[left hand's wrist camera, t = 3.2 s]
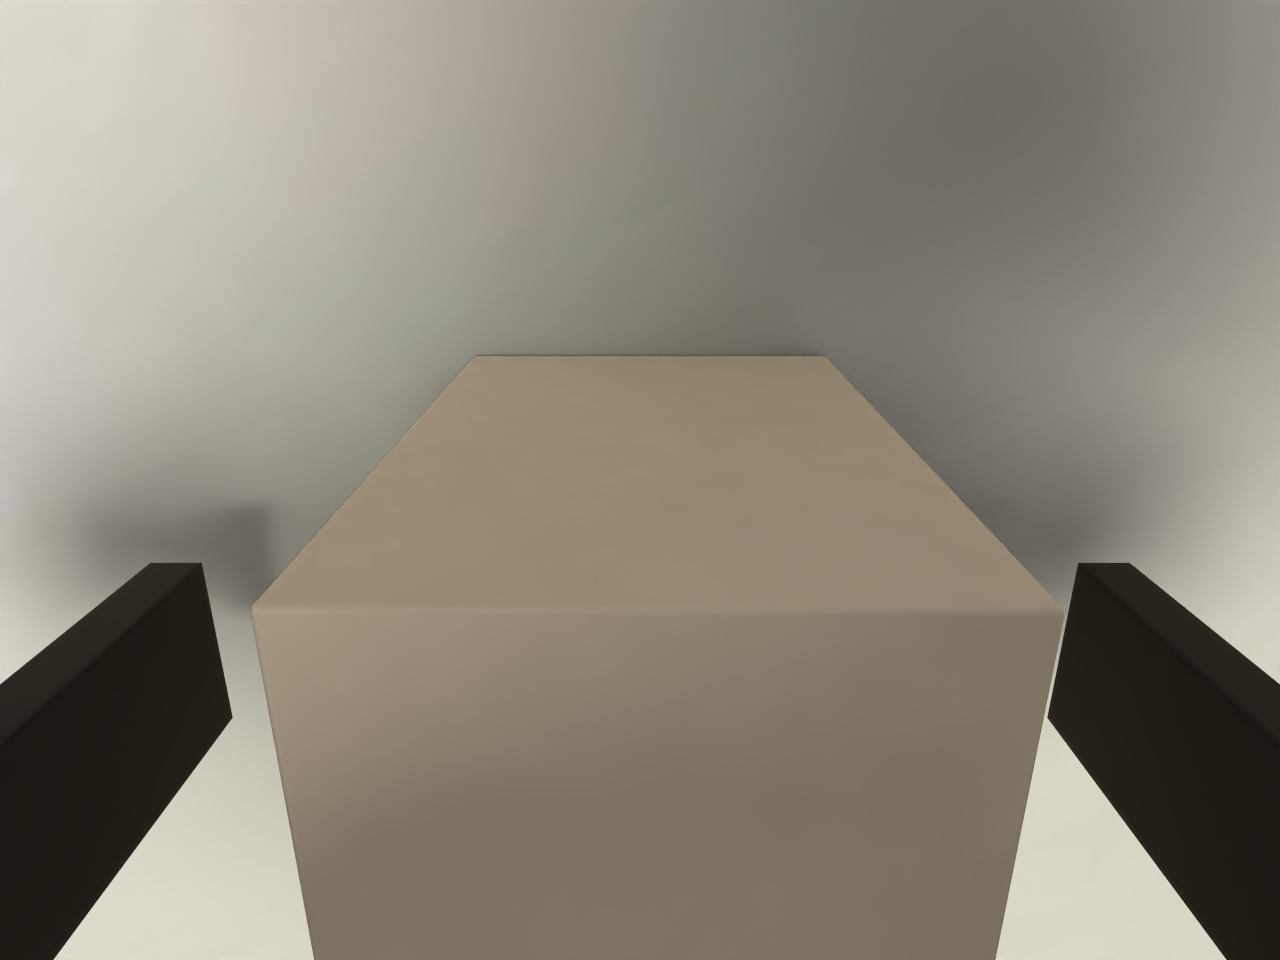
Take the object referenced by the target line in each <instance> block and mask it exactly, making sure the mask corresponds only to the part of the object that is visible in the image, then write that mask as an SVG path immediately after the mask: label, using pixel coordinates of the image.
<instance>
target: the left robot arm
mask: <svg viewBox="0 0 1280 960" xmlns="http://www.w3.org/2000/svg"><path fill="white" fill-rule="evenodd" d="M232 718H233V717H232V712H231V707H230V702H229V697H228V692H227V687H226V682H225V677H224V672H223V667H222V662H221V657H220V652H219V647H218V642H217V637H216V632H215V627H214V622H213V617H212V612H211V607H210V602H209V597H208V592H207V587H206V582H205V577H204V572H203V567H202V563H150V564H149V565H147V566H146V567H145V568H144V569H142V570H141V571H140V572H139V573H138V574H136V575H135V576H134V577H133V578H131V579H130V580H129V581H128V582H126V583H125V584H124V585H123V586H121V587H120V588H119V589H118V590H116V591H115V592H114V593H113V594H112V595H110V596H109V597H108V598H107V599H105V600H104V601H103V602H102V603H100V604H99V605H98V606H97V607H95V608H94V609H93V610H92V611H91V612H89V613H88V614H87V615H86V616H84V617H83V618H82V619H81V620H79V621H78V622H77V623H76V624H74V625H73V626H72V627H71V628H69V629H68V630H67V631H66V632H65V633H63V634H62V635H61V636H60V637H58V638H57V639H56V640H55V641H53V642H52V643H51V644H50V645H48V646H47V647H46V648H45V649H43V650H42V651H41V652H40V653H39V654H37V655H36V656H35V657H34V658H32V659H31V660H30V661H29V662H27V663H26V664H25V665H24V666H22V667H21V668H20V669H19V670H18V671H16V672H15V673H14V674H13V675H11V676H10V677H9V678H8V679H6V680H5V681H4V682H3V683H1V684H0V960H54V958H55V957H56V955H57V954H58V953H59V951H60V950H61V949H62V947H63V946H64V945H65V943H66V942H67V941H68V939H69V938H70V937H71V935H72V934H73V933H74V931H75V930H76V928H77V927H78V926H79V924H80V923H81V922H82V920H83V919H84V918H85V916H86V915H87V914H88V912H89V911H90V910H91V908H92V907H93V906H94V904H95V903H96V901H97V900H98V899H99V897H100V896H101V895H102V893H103V892H104V891H105V889H106V888H107V887H108V885H109V884H110V883H111V881H112V880H113V878H114V877H115V876H116V874H117V873H118V872H119V870H120V869H121V868H122V866H123V865H124V864H125V862H126V861H127V860H128V858H129V857H130V856H131V854H132V853H133V851H134V850H135V849H136V847H137V846H138V845H139V843H140V842H141V841H142V839H143V838H144V837H145V835H146V834H147V833H148V831H149V830H150V829H151V827H152V826H153V824H154V823H155V822H156V820H157V819H158V818H159V816H160V815H161V814H162V812H163V811H164V810H165V808H166V807H167V806H168V804H169V803H170V801H171V800H172V799H173V797H174V796H175V795H176V793H177V792H178V791H179V789H180V788H181V787H182V785H183V784H184V783H185V781H186V780H187V779H188V777H189V776H190V774H191V773H192V772H193V770H194V769H195V768H196V766H197V765H198V764H199V762H200V761H201V760H202V758H203V757H204V756H205V754H206V753H207V752H208V750H209V749H210V747H211V746H212V745H213V743H214V742H215V741H216V739H217V738H218V737H219V735H220V734H221V733H222V731H223V730H224V729H225V727H226V726H227V724H228V723H229V722H230V720H231V719H232ZM1047 718H1048V719H1049V720H1050V722H1051V723H1052V724H1053V726H1054V727H1055V729H1056V730H1057V731H1058V733H1059V734H1060V735H1061V737H1062V738H1063V739H1064V741H1065V742H1066V743H1067V745H1068V746H1069V747H1070V749H1071V750H1072V752H1073V753H1074V754H1075V756H1076V757H1077V758H1078V760H1079V761H1080V762H1081V764H1082V765H1083V766H1084V768H1085V769H1086V770H1087V772H1088V773H1089V774H1090V776H1091V777H1092V779H1093V780H1094V781H1095V783H1096V784H1097V785H1098V787H1099V788H1100V789H1101V791H1102V792H1103V793H1104V795H1105V796H1106V797H1107V799H1108V800H1109V801H1110V803H1111V804H1112V806H1113V807H1114V808H1115V810H1116V811H1117V812H1118V814H1119V815H1120V816H1121V818H1122V819H1123V820H1124V822H1125V823H1126V824H1127V826H1128V827H1129V829H1130V830H1131V831H1132V833H1133V834H1134V835H1135V837H1136V838H1137V839H1138V841H1139V842H1140V843H1141V845H1142V846H1143V847H1144V849H1145V850H1146V851H1147V853H1148V854H1149V856H1150V857H1151V858H1152V860H1153V861H1154V862H1155V864H1156V865H1157V866H1158V868H1159V869H1160V870H1161V872H1162V873H1163V874H1164V876H1165V877H1166V878H1167V880H1168V881H1169V883H1170V884H1171V885H1172V887H1173V888H1174V889H1175V891H1176V892H1177V893H1178V895H1179V896H1180V897H1181V899H1182V900H1183V901H1184V903H1185V904H1186V906H1187V907H1188V908H1189V910H1190V911H1191V912H1192V914H1193V915H1194V916H1195V918H1196V919H1197V920H1198V922H1199V923H1200V924H1201V926H1202V927H1203V928H1204V930H1205V931H1206V933H1207V934H1208V935H1209V937H1210V938H1211V939H1212V941H1213V942H1214V943H1215V945H1216V946H1217V947H1218V949H1219V950H1220V951H1221V953H1222V954H1223V955H1224V957H1225V958H1226V960H1280V684H1279V683H1277V682H1276V681H1275V680H1274V679H1272V678H1271V677H1270V676H1269V675H1267V674H1266V673H1265V672H1264V671H1262V670H1261V669H1260V668H1259V667H1258V666H1256V665H1255V664H1254V663H1253V662H1251V661H1250V660H1249V659H1248V658H1246V657H1245V656H1244V655H1243V654H1241V653H1240V652H1239V651H1238V650H1236V649H1235V648H1234V647H1233V646H1232V645H1230V644H1229V643H1228V642H1227V641H1225V640H1224V639H1223V638H1222V637H1220V636H1219V635H1218V634H1217V633H1215V632H1214V631H1213V630H1212V629H1211V628H1209V627H1208V626H1207V625H1206V624H1204V623H1203V622H1202V621H1201V620H1199V619H1198V618H1197V617H1196V616H1194V615H1193V614H1192V613H1191V612H1189V611H1188V610H1187V609H1186V608H1185V607H1183V606H1182V605H1181V604H1180V603H1178V602H1177V601H1176V600H1175V599H1173V598H1172V597H1171V596H1170V595H1168V594H1167V593H1166V592H1165V591H1164V590H1162V589H1161V588H1160V587H1159V586H1157V585H1156V584H1155V583H1154V582H1152V581H1151V580H1150V579H1149V578H1147V577H1146V576H1145V575H1144V574H1142V573H1141V572H1140V571H1139V570H1138V569H1136V568H1135V567H1134V566H1133V565H1131V564H1130V563H1078V567H1077V572H1076V577H1075V582H1074V587H1073V592H1072V597H1071V602H1070V607H1069V612H1068V617H1067V622H1066V627H1065V632H1064V637H1063V642H1062V647H1061V652H1060V657H1059V662H1058V667H1057V672H1056V677H1055V682H1054V687H1053V692H1052V697H1051V702H1050V707H1049V712H1048V717H1047Z"/></svg>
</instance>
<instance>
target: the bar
mask: <svg viewBox="0 0 1280 960" xmlns="http://www.w3.org/2000/svg"><path fill="white" fill-rule="evenodd" d="M251 617H252V622H253V628H254V633H255V639H256V644H257V650H258V655H259V661H260V666H261V672H262V677H263V682H264V688H265V693H266V699H267V704H268V710H269V715H270V721H271V726H272V732H273V737H274V742H275V748H276V753H277V759H278V764H279V770H280V775H281V781H282V786H283V792H284V797H285V802H286V808H287V813H288V819H289V824H290V830H291V835H292V841H293V846H294V852H295V857H296V862H297V868H298V873H299V879H300V884H301V890H302V895H303V901H304V906H305V912H306V917H307V922H308V928H309V933H310V939H311V944H312V950H313V955H314V960H995V959H996V954H997V949H998V944H999V939H1000V934H1001V929H1002V924H1003V919H1004V914H1005V909H1006V904H1007V899H1008V894H1009V889H1010V884H1011V879H1012V874H1013V868H1014V863H1015V858H1016V853H1017V848H1018V843H1019V838H1020V833H1021V828H1022V823H1023V818H1024V813H1025V808H1026V803H1027V798H1028V793H1029V788H1030V783H1031V778H1032V773H1033V768H1034V763H1035V758H1036V753H1037V748H1038V743H1039V738H1040V733H1041V728H1042V723H1043V718H1044V713H1045V708H1046V703H1047V698H1048V693H1049V688H1050V683H1051V678H1052V673H1053V668H1054V663H1055V658H1056V653H1057V648H1058V643H1059V638H1060V633H1061V628H1062V623H1063V618H1064V612H1063V608H1062V607H1061V606H1060V605H1059V604H1058V602H1057V601H1056V600H1055V599H1054V598H1053V597H1052V596H1051V595H1050V594H1049V593H1048V592H1047V591H1046V590H1045V589H1044V588H1043V587H1042V585H1041V584H1040V583H1039V582H1038V581H1037V580H1036V579H1035V578H1034V577H1033V576H1032V575H1031V574H1030V573H1029V572H1028V571H1027V570H1026V569H1025V567H1024V566H1023V565H1022V564H1021V563H1020V562H1019V561H1018V560H1017V559H1016V558H1015V557H1014V556H1013V555H1012V554H1011V553H1010V552H1009V551H1008V549H1007V548H1006V547H1005V546H1004V545H1003V544H1002V543H1001V542H1000V541H999V540H998V539H997V538H996V537H995V536H994V535H993V534H992V533H991V531H990V530H989V529H988V528H987V527H986V526H985V525H984V524H983V523H982V522H981V521H980V520H979V519H978V518H977V517H976V516H975V514H974V513H973V512H972V511H971V510H970V509H969V508H968V507H967V506H966V505H965V504H964V503H963V502H962V501H961V500H960V499H959V498H958V496H957V495H956V494H955V493H954V492H953V491H952V490H951V489H950V488H949V487H948V486H947V485H946V484H945V483H944V482H943V481H942V480H941V478H940V477H939V476H938V475H937V474H936V473H935V472H934V471H933V470H932V469H931V468H930V467H929V466H928V465H927V464H926V463H925V461H924V460H923V459H922V458H921V457H920V456H919V455H918V454H917V453H916V452H915V451H914V450H913V449H912V448H911V447H910V446H909V445H908V443H907V442H906V441H905V440H904V439H903V438H902V437H901V436H900V435H899V434H898V433H897V432H896V431H895V430H894V429H893V428H892V427H891V425H890V424H889V423H888V422H887V421H886V420H885V419H884V418H883V417H882V416H881V415H880V414H879V413H878V412H877V411H876V410H875V408H874V407H873V406H872V405H871V404H870V403H869V402H868V401H867V400H866V399H865V398H864V397H863V396H862V395H861V394H860V393H859V392H858V390H857V389H856V388H855V387H854V386H853V385H852V384H851V383H850V382H849V381H848V380H847V379H846V378H845V377H844V376H843V375H842V374H841V372H840V371H839V370H838V369H837V368H836V367H835V366H834V365H833V364H832V363H831V362H830V361H829V360H828V359H827V358H826V357H824V356H474V357H473V358H472V359H471V360H470V361H469V363H468V364H467V365H466V366H465V367H464V368H463V369H462V370H461V372H460V373H459V374H458V375H457V376H456V377H455V378H454V379H453V381H452V382H451V383H450V384H449V385H448V386H447V387H446V388H445V390H444V391H443V392H442V393H441V394H440V395H439V396H438V397H437V399H436V400H435V401H434V402H433V403H432V404H431V405H430V406H429V408H428V409H427V410H426V411H425V412H424V413H423V414H422V415H421V417H420V418H419V419H418V420H417V421H416V422H415V423H414V424H413V426H412V427H411V428H410V429H409V430H408V431H407V432H406V433H405V435H404V436H403V437H402V438H401V439H400V440H399V441H398V442H397V444H396V445H395V446H394V447H393V448H392V449H391V450H390V451H389V453H388V454H387V455H386V456H385V457H384V458H383V459H382V460H381V462H380V463H379V464H378V465H377V466H376V467H375V468H374V469H373V471H372V472H371V473H370V474H369V475H368V476H367V477H366V478H365V480H364V481H363V482H362V483H361V484H360V485H359V486H358V487H357V489H356V490H355V491H354V492H353V493H352V494H351V495H350V496H349V498H348V499H347V500H346V501H345V502H344V503H343V504H342V506H341V507H340V508H339V509H338V510H337V511H336V512H335V513H334V515H333V516H332V517H331V518H330V519H329V520H328V521H327V522H326V524H325V525H324V526H323V527H322V528H321V529H320V530H319V531H318V533H317V534H316V535H315V536H314V537H313V538H312V539H311V540H310V542H309V543H308V544H307V545H306V546H305V547H304V548H303V549H302V551H301V552H300V553H299V554H298V555H297V556H296V557H295V558H294V560H293V561H292V562H291V563H290V564H289V565H288V566H287V567H286V569H285V570H284V571H283V572H282V573H281V574H280V575H279V576H278V578H277V579H276V580H275V581H274V582H273V583H272V584H271V585H270V587H269V588H268V589H267V590H266V591H265V592H264V593H263V594H262V596H261V597H260V598H259V599H258V600H257V601H256V602H255V603H254V605H253V606H252V609H251Z"/></svg>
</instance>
